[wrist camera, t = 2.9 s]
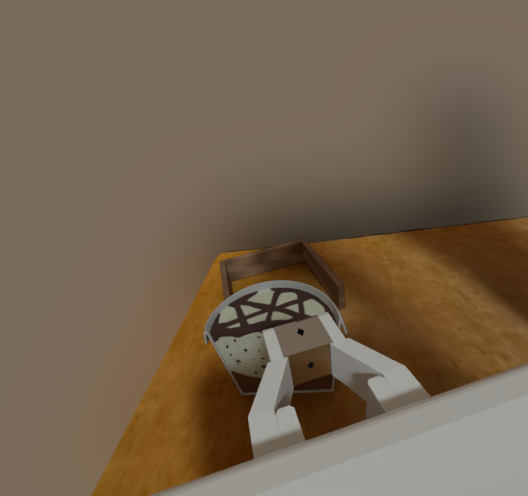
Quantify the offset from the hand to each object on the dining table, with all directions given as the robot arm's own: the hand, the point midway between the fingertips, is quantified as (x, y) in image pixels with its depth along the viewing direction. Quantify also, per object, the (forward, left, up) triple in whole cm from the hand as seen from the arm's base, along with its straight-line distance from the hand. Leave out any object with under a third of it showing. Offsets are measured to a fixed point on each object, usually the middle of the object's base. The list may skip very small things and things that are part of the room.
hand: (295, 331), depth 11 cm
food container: (0, -10, -16) cm, 19 cm away
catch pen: (-2, -23, -16) cm, 28 cm away
